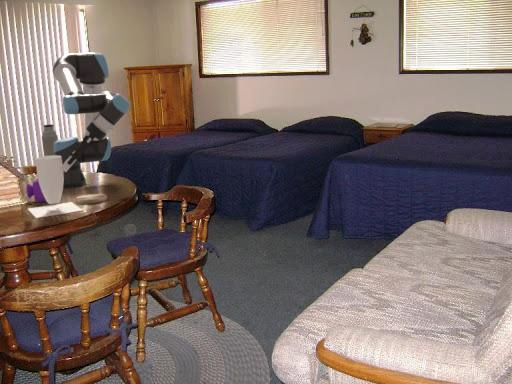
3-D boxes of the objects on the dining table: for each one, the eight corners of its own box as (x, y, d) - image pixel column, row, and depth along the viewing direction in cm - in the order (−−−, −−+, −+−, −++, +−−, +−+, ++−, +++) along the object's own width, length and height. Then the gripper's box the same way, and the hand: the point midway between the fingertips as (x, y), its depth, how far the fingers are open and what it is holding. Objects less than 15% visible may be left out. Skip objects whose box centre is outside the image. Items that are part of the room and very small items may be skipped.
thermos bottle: (43, 177, 298) (37, 125, 292) (51, 175, 306) (45, 124, 300) (57, 177, 297) (51, 125, 291) (64, 175, 305) (58, 123, 299)
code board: (27, 209, 230) (27, 208, 230) (71, 202, 239) (71, 202, 239) (36, 218, 215) (35, 217, 215) (82, 210, 224) (82, 210, 224)
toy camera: (26, 199, 248) (23, 177, 246) (58, 196, 253) (56, 174, 251) (27, 204, 238) (24, 182, 236) (60, 200, 243) (58, 178, 241)
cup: (64, 211, 222) (58, 158, 218) (37, 213, 222) (31, 159, 217) (70, 205, 233) (65, 154, 228) (45, 207, 232) (39, 155, 227)
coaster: (72, 200, 244) (72, 196, 243) (101, 195, 250) (101, 192, 250) (80, 205, 233) (80, 202, 233) (110, 200, 240) (110, 197, 239)
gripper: (105, 137, 212) (69, 178, 213) (108, 130, 236) (75, 168, 237) (89, 124, 210) (53, 166, 210) (94, 118, 234) (61, 156, 234)
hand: (65, 167), depth 223 cm, fingers open, 13 cm apart
